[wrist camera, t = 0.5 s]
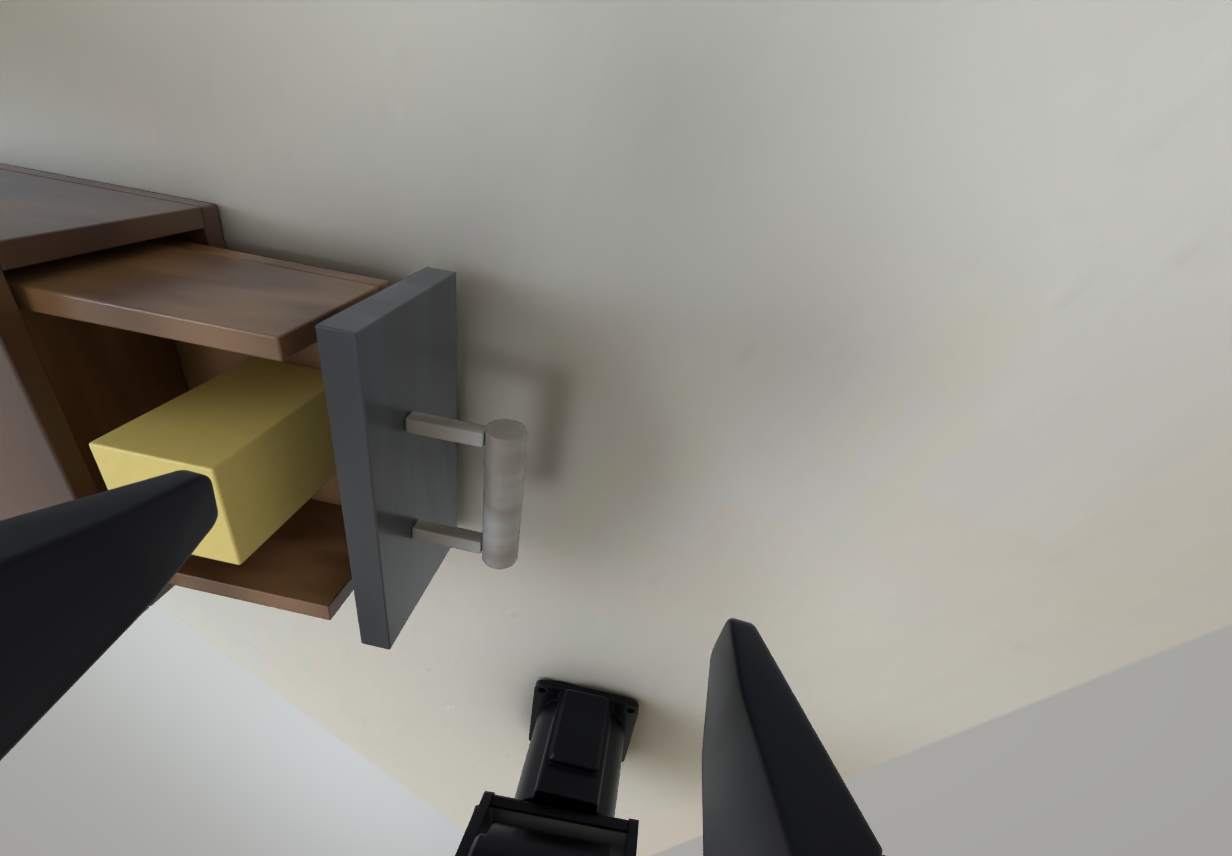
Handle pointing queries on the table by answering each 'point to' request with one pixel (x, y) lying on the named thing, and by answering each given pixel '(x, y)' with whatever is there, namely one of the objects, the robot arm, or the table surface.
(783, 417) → the table surface
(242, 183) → the table surface
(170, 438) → the block
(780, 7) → the table surface
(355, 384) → the drawer
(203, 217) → the cabinet
